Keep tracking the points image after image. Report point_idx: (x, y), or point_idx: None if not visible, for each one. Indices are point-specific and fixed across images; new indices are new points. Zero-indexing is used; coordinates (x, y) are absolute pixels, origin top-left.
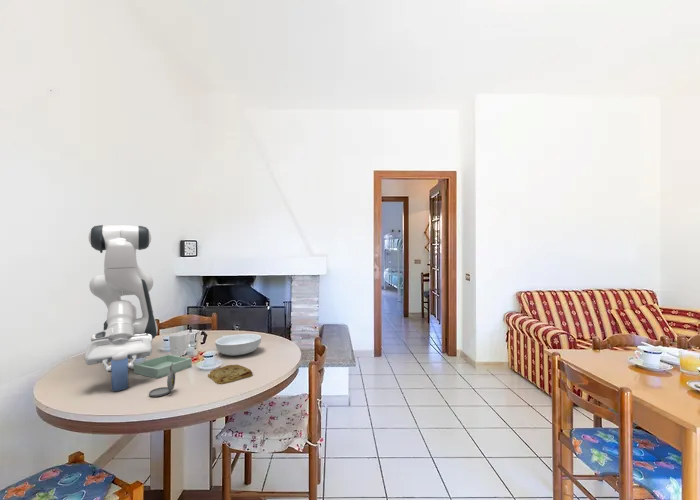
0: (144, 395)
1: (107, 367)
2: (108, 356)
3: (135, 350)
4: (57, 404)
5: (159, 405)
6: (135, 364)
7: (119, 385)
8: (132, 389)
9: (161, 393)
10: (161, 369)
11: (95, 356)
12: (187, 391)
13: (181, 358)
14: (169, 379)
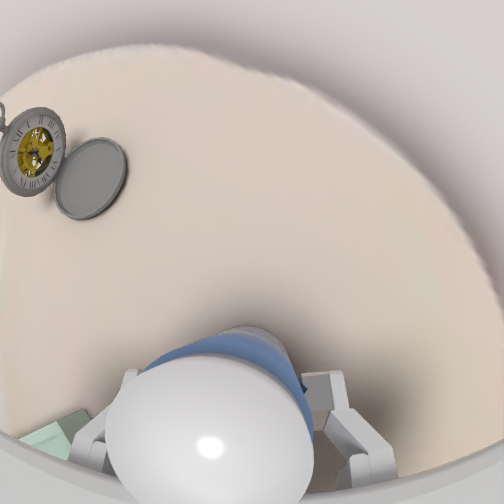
0: (141, 191)
1: (336, 393)
2: (348, 497)
3: (49, 486)
4: (477, 290)
5: (124, 79)
6: None
7: (244, 327)
8: (185, 320)
9: (88, 172)
10: (49, 424)
11: (475, 481)
12: (32, 161)
13: None
14: (42, 108)
